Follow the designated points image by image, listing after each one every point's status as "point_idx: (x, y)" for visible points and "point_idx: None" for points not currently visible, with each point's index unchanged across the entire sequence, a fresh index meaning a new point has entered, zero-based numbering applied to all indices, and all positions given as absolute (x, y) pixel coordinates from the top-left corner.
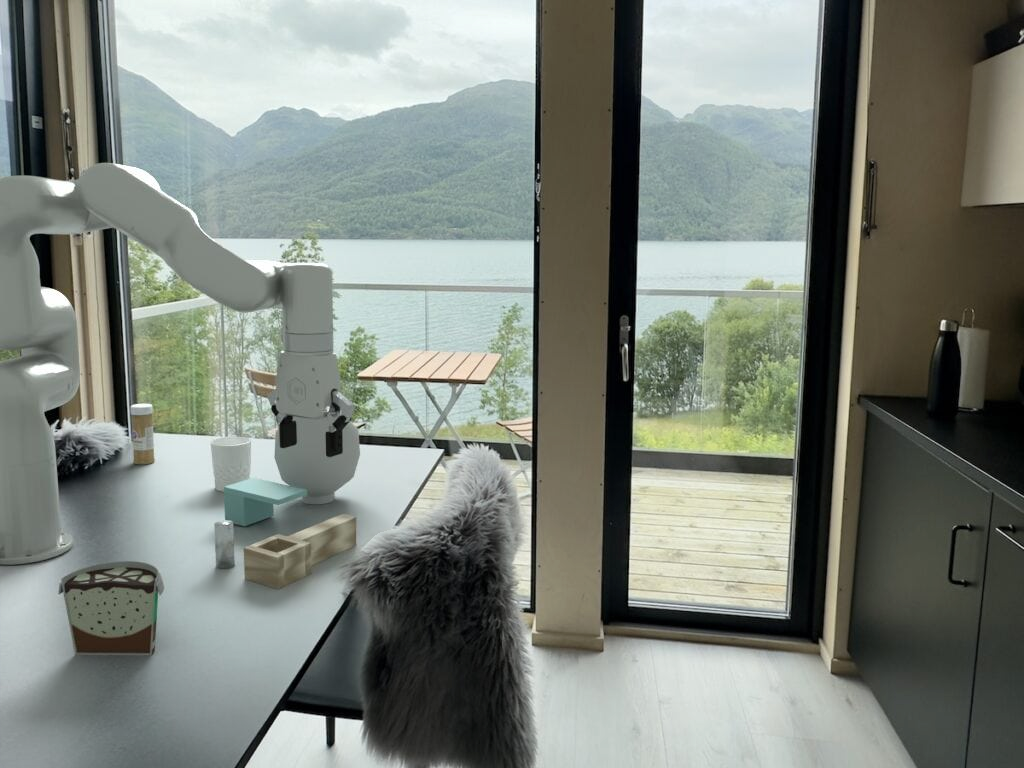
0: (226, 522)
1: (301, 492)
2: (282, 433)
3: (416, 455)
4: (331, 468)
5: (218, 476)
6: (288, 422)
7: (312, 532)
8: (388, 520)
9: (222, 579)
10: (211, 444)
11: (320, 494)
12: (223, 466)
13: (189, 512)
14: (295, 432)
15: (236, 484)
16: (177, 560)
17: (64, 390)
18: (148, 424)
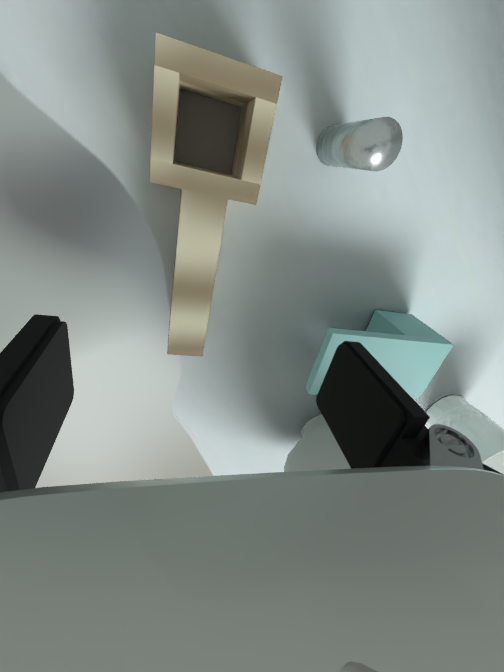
0: (377, 154)
1: (312, 382)
2: (378, 382)
3: None
4: (305, 465)
5: (472, 409)
6: (389, 456)
7: (191, 246)
8: (187, 417)
9: (304, 69)
10: None
11: (314, 428)
12: (478, 422)
13: (472, 323)
14: (338, 435)
15: (436, 362)
16: (427, 133)
17: None
18: None
